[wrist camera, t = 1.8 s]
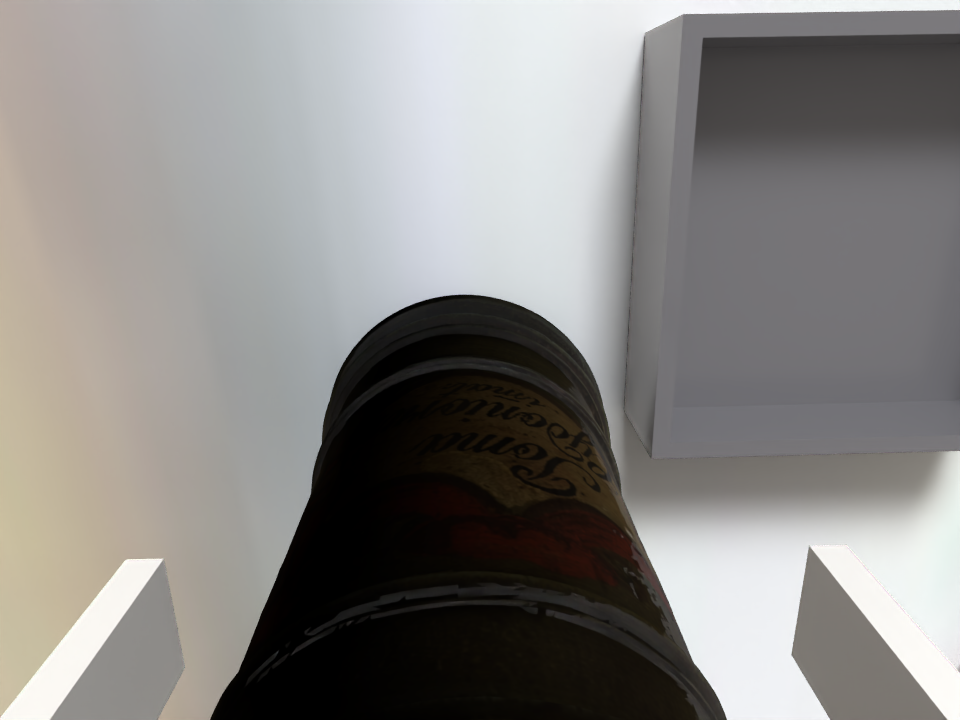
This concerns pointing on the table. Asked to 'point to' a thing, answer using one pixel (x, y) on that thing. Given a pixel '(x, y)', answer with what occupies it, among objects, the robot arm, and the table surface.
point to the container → (466, 544)
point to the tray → (797, 236)
